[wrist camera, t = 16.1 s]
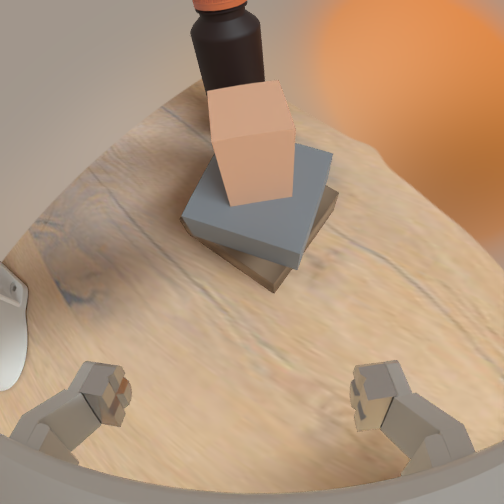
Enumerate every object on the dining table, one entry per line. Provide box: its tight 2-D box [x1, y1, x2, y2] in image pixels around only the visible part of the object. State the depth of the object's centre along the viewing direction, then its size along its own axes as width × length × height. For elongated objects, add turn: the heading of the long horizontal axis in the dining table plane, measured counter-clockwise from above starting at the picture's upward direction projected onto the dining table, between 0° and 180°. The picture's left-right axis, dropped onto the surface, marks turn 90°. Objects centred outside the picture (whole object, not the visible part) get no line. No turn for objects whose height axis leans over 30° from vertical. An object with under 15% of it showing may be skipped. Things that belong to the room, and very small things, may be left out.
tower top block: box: [182, 143, 333, 270], centre depth 27 cm, size 10×10×4 cm
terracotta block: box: [207, 80, 296, 207], centre depth 22 cm, size 5×5×8 cm
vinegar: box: [191, 0, 265, 99], centre depth 28 cm, size 7×7×20 cm
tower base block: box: [180, 185, 339, 293], centre depth 31 cm, size 11×11×4 cm
